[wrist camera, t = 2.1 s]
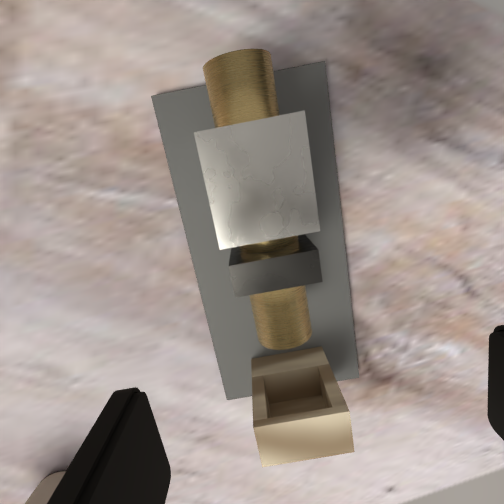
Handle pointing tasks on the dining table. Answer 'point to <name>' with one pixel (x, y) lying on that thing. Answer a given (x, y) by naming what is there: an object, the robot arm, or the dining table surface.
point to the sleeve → (259, 179)
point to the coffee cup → (45, 489)
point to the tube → (274, 251)
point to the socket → (298, 408)
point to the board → (216, 261)
